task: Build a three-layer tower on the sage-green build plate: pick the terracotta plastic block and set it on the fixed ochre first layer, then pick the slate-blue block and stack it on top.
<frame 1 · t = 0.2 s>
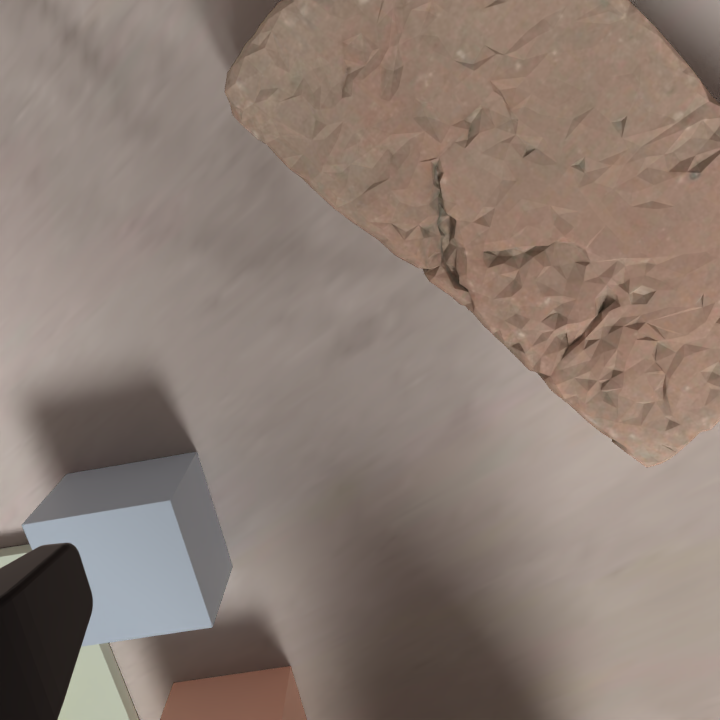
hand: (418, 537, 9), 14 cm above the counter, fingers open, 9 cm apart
brick: (519, 169, 21), on the counter
brick slate: (153, 518, 26), on the counter
brick terracotta: (248, 717, 29), on the counter
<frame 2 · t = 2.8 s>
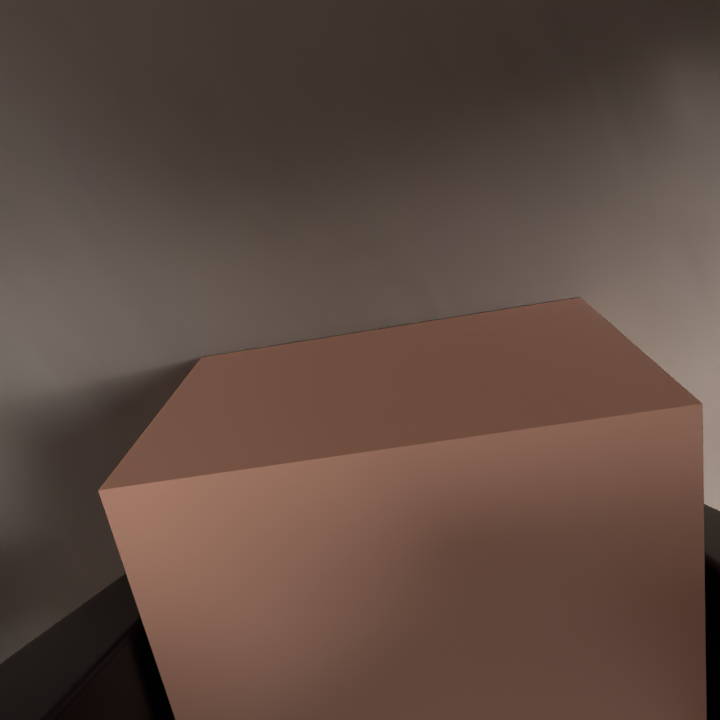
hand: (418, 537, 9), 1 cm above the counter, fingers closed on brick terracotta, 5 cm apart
brick terracotta: (414, 494, 10), on the counter, touching gripper
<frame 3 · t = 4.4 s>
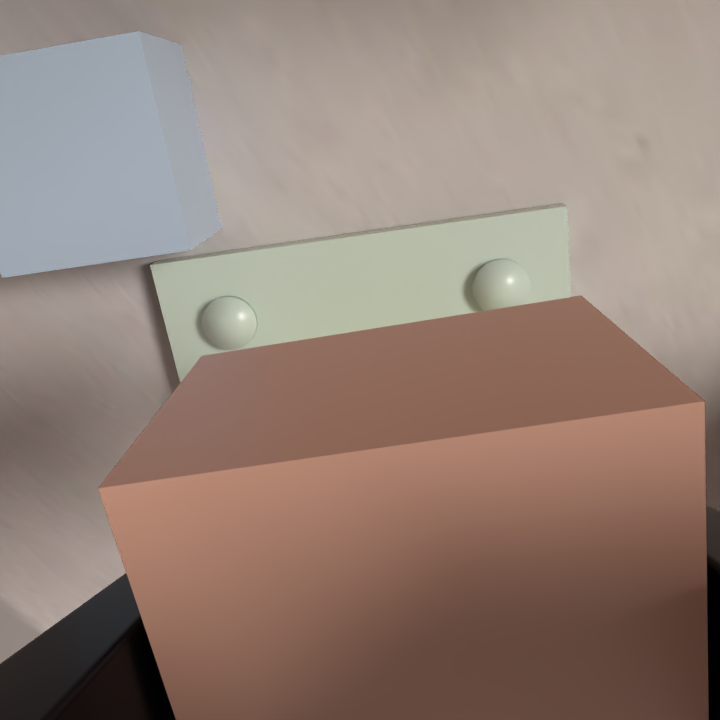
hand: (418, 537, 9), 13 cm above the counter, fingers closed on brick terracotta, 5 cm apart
brick slate: (120, 153, 20), on the counter
brick terracotta: (414, 493, 10), point 11 cm above the counter, touching gripper
build plate: (379, 403, 22), on the counter
when the fingers open (6 cm above the counter, at t = 6.2 s): brick terracotta stays where it is, resting on build plate.
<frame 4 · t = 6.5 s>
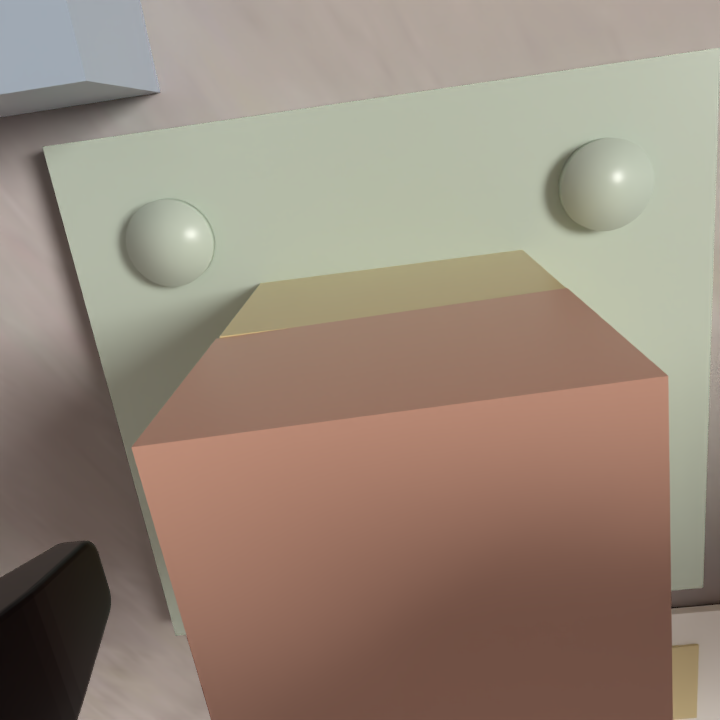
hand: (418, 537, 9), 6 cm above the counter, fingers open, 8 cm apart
brick terracotta: (411, 470, 10), point 4 cm above the counter, touching build plate
build plate: (403, 378, 14), on the counter
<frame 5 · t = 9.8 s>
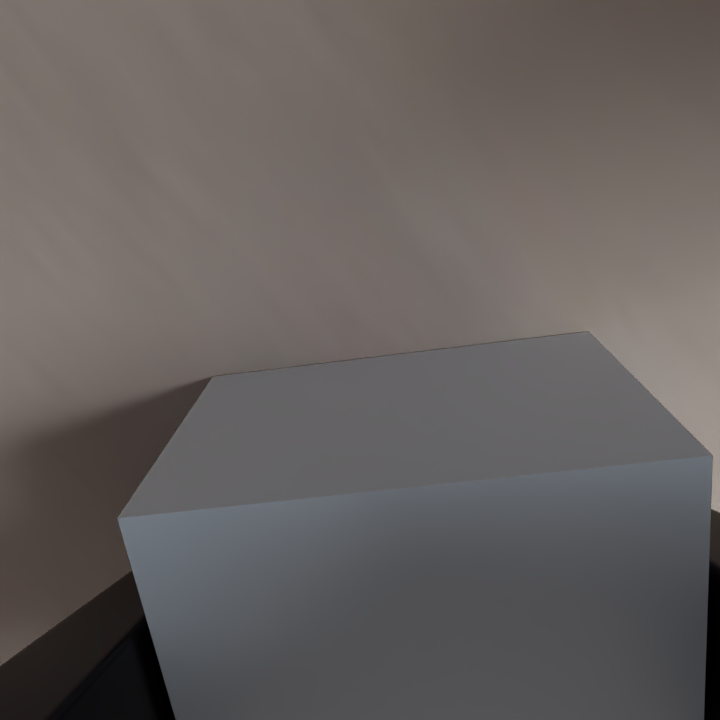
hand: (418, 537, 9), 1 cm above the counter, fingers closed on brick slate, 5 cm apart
brick slate: (417, 517, 10), on the counter, touching gripper
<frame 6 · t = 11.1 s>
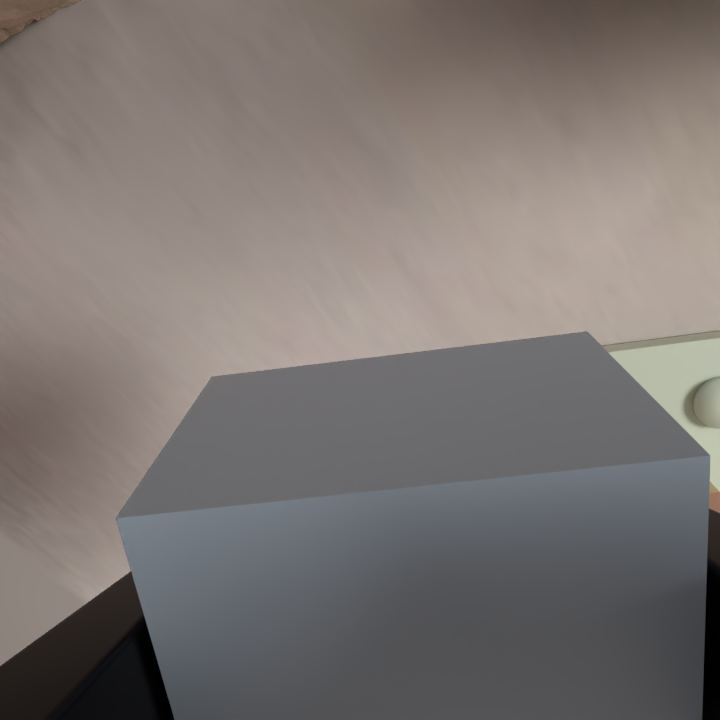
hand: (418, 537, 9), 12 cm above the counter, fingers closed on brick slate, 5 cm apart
brick slate: (416, 517, 10), point 11 cm above the counter, touching gripper
build plate: (584, 505, 23), on the counter
when the fingers open (9 cm above the counter, at t = 12.9 s): brick slate stays where it is, resting on brick terracotta.
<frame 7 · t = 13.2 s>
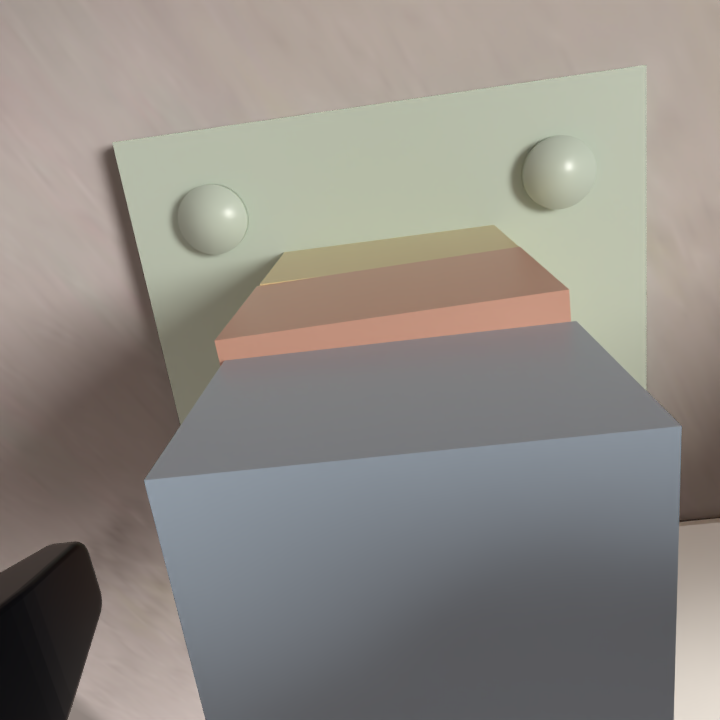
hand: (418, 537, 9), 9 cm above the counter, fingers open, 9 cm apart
brick slate: (414, 495, 10), point 8 cm above the counter, touching brick terracotta
instruction card: (605, 656, 21), on the counter
brick terracotta: (404, 389, 14), point 4 cm above the counter, touching brick slate, build plate
build plate: (399, 331, 17), on the counter
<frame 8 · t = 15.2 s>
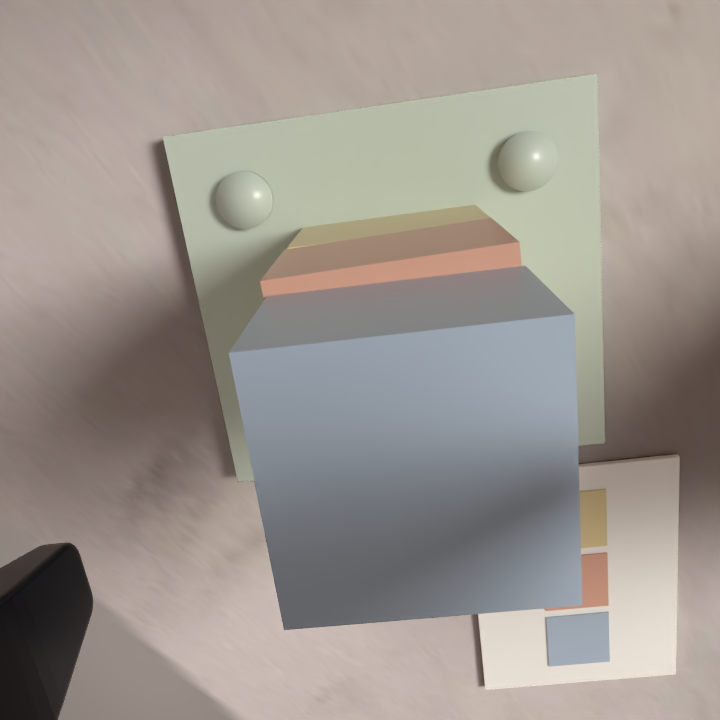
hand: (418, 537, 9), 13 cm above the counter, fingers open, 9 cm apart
brick slate: (408, 400, 14), point 8 cm above the counter, touching brick terracotta
instruction card: (574, 578, 24), on the counter
brick terracotta: (401, 332, 17), point 4 cm above the counter, touching brick slate, build plate
build plate: (397, 295, 21), on the counter
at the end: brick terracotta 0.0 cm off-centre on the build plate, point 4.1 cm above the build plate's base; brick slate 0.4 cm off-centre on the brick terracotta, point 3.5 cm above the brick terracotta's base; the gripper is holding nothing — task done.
